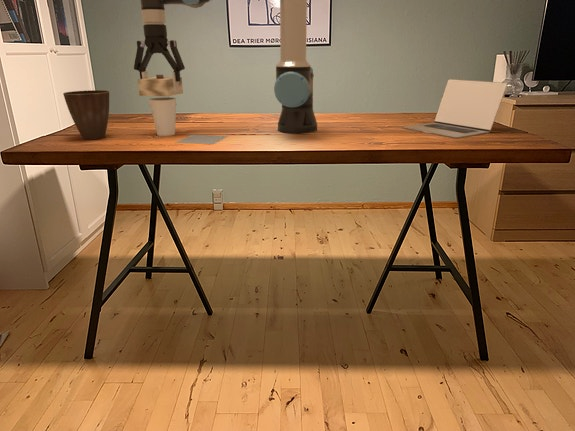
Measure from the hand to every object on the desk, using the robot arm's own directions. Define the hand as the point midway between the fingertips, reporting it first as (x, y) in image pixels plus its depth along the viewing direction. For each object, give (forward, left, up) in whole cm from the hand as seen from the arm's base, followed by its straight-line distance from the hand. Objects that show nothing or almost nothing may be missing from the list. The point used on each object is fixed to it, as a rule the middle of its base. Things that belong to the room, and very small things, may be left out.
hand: (161, 91), depth 162 cm
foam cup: (0, 0, -16) cm, 16 cm away
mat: (-17, +6, -16) cm, 24 cm away
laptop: (-101, -30, -16) cm, 107 cm away
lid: (0, 0, -1) cm, 1 cm away
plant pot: (+24, +9, -16) cm, 30 cm away
